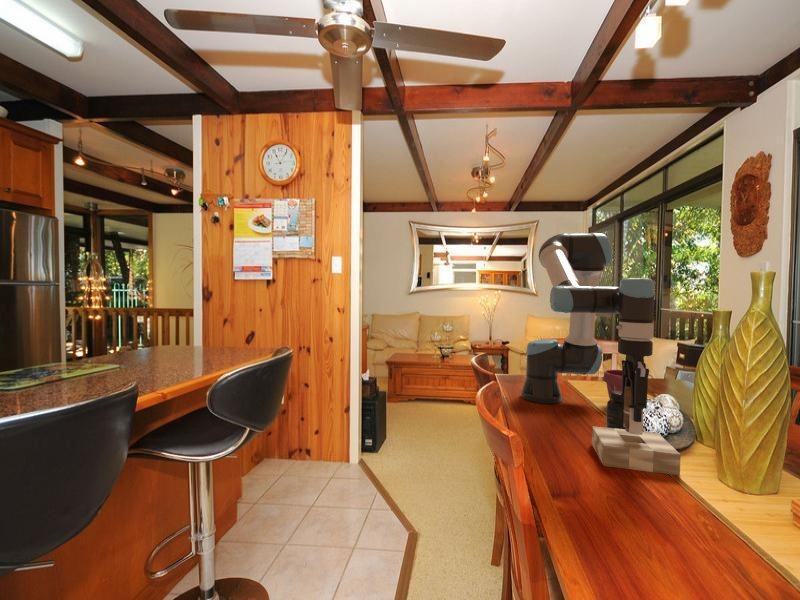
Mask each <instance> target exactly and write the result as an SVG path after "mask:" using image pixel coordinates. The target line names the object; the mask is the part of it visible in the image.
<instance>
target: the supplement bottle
mask: <svg viewBox="0 0 800 600" xmlns="http://www.w3.org/2000/svg"><path fill="white" fill-rule="evenodd" d="M611 398H612V399H611V400H610V399H609V400H608V401H607V402H606V420H605V421H606V425H605V428H615V429H625V427H624V399H623V398H624V397H622V391H611Z"/></svg>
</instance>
